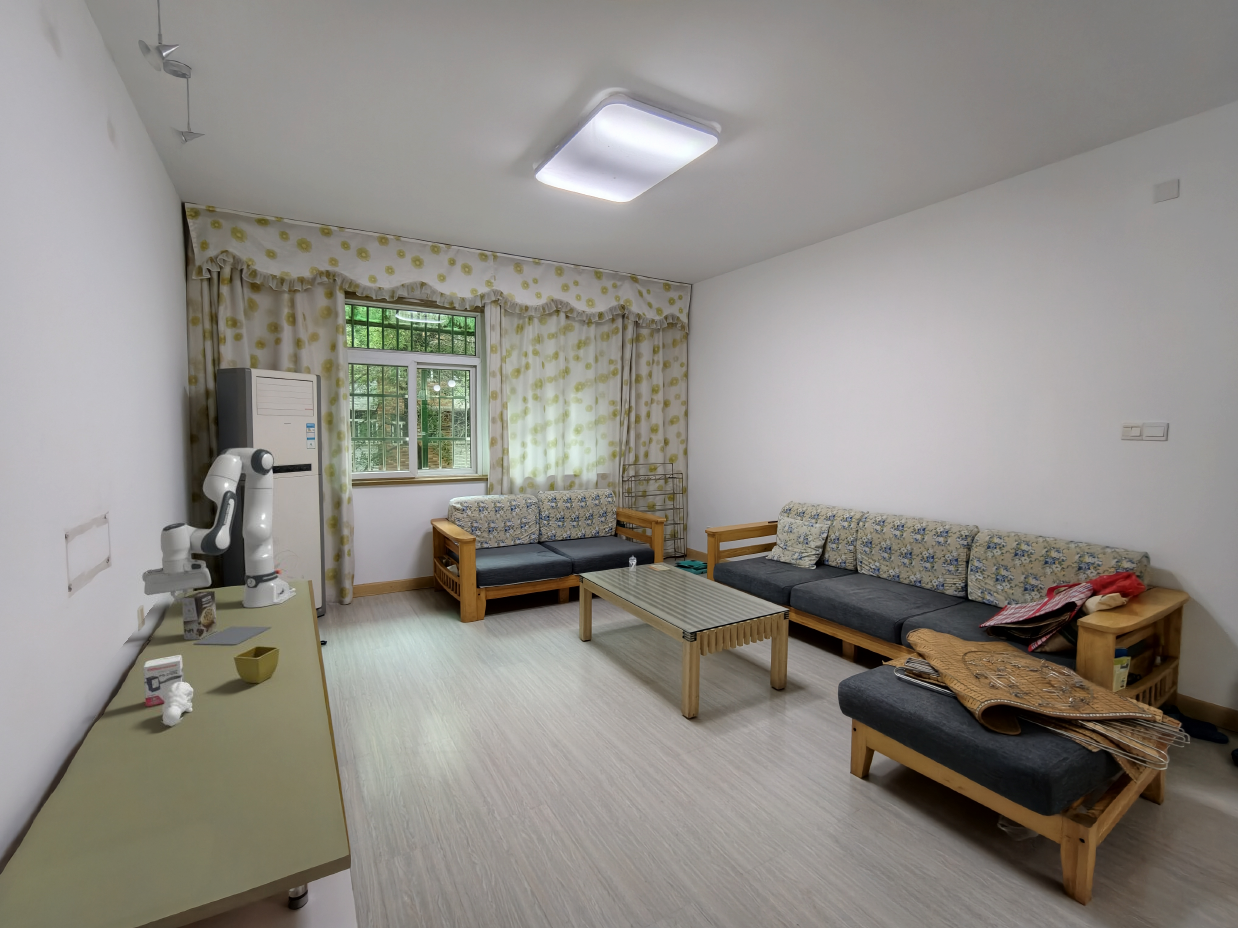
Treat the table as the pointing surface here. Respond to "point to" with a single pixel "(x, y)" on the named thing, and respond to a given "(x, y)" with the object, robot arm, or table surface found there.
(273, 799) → the table surface
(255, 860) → the table surface
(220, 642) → the mat
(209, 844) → the table surface
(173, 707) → the white figurine
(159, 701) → the ink box
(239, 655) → the flower pot
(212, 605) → the coffee box
